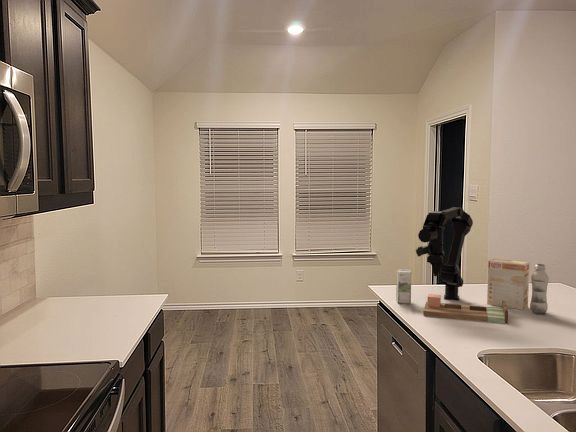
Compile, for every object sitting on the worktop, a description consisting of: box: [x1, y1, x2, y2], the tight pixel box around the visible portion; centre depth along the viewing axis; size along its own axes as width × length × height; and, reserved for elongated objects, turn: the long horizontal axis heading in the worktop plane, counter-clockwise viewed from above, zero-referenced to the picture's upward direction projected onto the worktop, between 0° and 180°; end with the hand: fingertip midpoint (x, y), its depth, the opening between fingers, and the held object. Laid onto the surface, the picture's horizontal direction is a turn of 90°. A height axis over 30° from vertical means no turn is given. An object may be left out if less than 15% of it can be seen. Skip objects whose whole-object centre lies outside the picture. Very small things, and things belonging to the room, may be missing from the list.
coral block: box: [427, 293, 442, 307], centre depth 198 cm, size 5×5×4 cm
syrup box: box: [395, 269, 412, 305], centre depth 210 cm, size 6×6×14 cm
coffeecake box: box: [486, 258, 530, 311], centre depth 203 cm, size 15×7×20 cm, turn 47°
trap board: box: [422, 301, 509, 324], centre depth 191 cm, size 14×31×5 cm, turn 70°
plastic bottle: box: [529, 263, 550, 314], centre depth 192 cm, size 6×7×20 cm
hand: (435, 275), depth 205 cm, fingers open, 2 cm apart
